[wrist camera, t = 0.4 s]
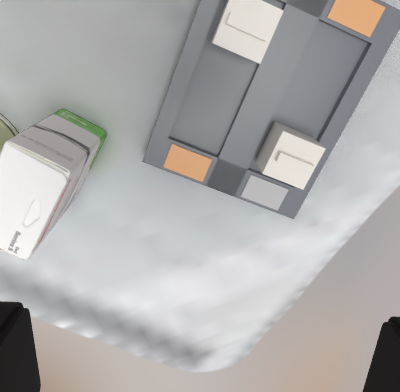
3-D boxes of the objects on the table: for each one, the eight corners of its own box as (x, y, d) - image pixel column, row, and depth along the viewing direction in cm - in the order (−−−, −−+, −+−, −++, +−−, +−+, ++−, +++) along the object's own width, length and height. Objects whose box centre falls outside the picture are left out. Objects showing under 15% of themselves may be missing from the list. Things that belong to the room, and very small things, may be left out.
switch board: (225, -68, 30) (227, -76, 28) (395, 15, 33) (408, 14, 31) (144, 155, 38) (141, 162, 36) (289, 210, 40) (294, 220, 38)
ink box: (62, 106, 36) (2, 136, 25) (109, 132, 37) (72, 172, 26) (29, 180, 39) (-37, 236, 28) (74, 202, 40) (27, 265, 29)
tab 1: (229, -7, 31) (234, -15, 27) (273, 13, 32) (286, 9, 27) (210, 42, 32) (212, 43, 28) (253, 61, 33) (261, 64, 29)
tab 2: (274, 121, 35) (285, 133, 31) (312, 137, 36) (328, 151, 31) (255, 159, 36) (263, 176, 32) (292, 174, 37) (305, 193, 33)
